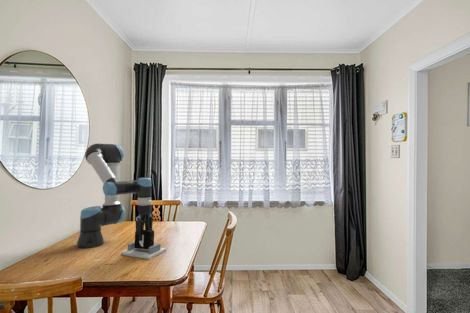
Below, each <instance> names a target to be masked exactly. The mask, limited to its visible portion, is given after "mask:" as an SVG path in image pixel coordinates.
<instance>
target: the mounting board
mask: <svg viewBox="0 0 470 313" xmlns="http://www.w3.org/2000/svg"><path fill="white" fill-rule="evenodd" d="M134 246H135V241H132V242H129V243H128V244H127V249H125V250H122V251H121V252H120V255H123V256H128V257H134V258H141V259H147V260H151V259H154V258H155V257H157V256H160V255H161V254H163V253H165V252H167V247H166V248H164V247H161V243H156V244H155V243H154V245H153V246H151V247H149V249H136V248H135V247H134Z"/></svg>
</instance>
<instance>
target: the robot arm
mask: <svg viewBox="0 0 470 313" xmlns="http://www.w3.org/2000/svg"><path fill="white" fill-rule="evenodd" d="M84 158H85V160H86V162H87V163H88V164H89V165H91V167H92V168H93V170H94V171H95V173H96V174H97V176H98V178H99V179H100V180H101V182H102V183H103V185H102V192H103V194H104V202H103V203H102V206H100V205H95V206H89V207H85V208H83V209H82V210H81V211H80V216H79V220H80V222H79V223H80V224H79V226H80V227H79V228H80V230H79V235H78V238H77V239H78V240H77V242H76V247H77V248H80V249H88V248H89V249H90V248H95V247H99V246H102V245H103V244H104V243H105V241H104V237H103V234H102V227H104V226H109V225H116V224H119V223H122V222H123V220H124V218H125V216H126V209H125V206H124V205H122V202H120V200H119V198H120V196H119V195H130V194H137V212H138V216H135V217H134V221H135V231H136V234H137V235H139V243H140V245H141V246H142V247H143V243H144V235H143V230H153V219H154V213H151V211H152V178H151V177H139V178H138V179H137V180H134V179H133V180H123V181H119V166H120V165H121V162H122V161H123V159H124V150H123V148H122V147H121V145H120V144H114V143H93V144H91V145H89V146H88V147H87V148H86V151H85V152H84Z"/></svg>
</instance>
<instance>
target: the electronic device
mask: <svg viewBox="0 0 470 313" xmlns="http://www.w3.org/2000/svg"><path fill="white" fill-rule="evenodd" d="M143 235H144V243H143V247H142V246H141V245H140V243H139V235H137V234H136V230H135V233H134V242H135V246H134V247H135V248H136V249H149V247H151V246H153V245H155V231H154V230H153V229H152V230H145V229H144V230H143Z"/></svg>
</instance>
